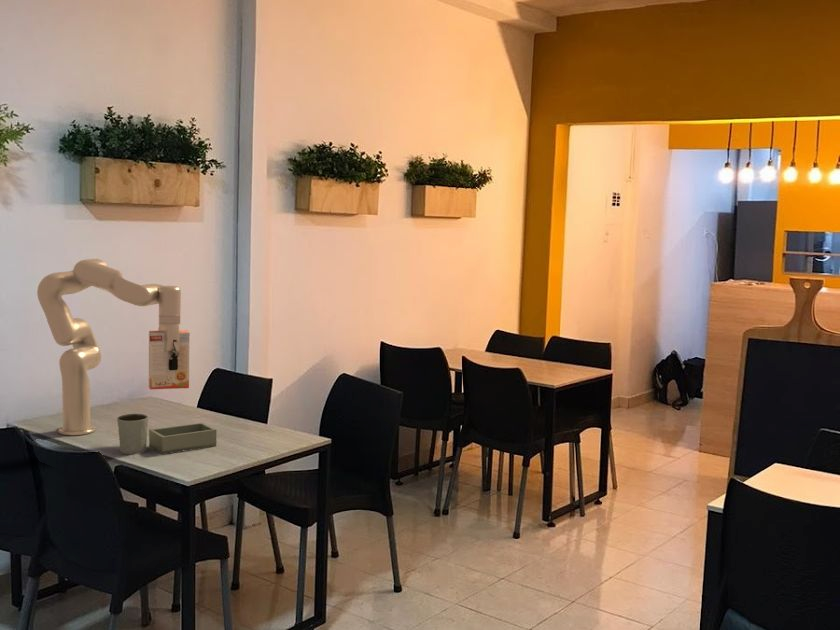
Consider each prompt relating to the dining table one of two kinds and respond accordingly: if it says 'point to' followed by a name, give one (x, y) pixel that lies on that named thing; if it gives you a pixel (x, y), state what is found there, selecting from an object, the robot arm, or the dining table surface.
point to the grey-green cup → (133, 433)
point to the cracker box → (160, 363)
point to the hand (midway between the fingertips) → (168, 367)
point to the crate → (182, 438)
